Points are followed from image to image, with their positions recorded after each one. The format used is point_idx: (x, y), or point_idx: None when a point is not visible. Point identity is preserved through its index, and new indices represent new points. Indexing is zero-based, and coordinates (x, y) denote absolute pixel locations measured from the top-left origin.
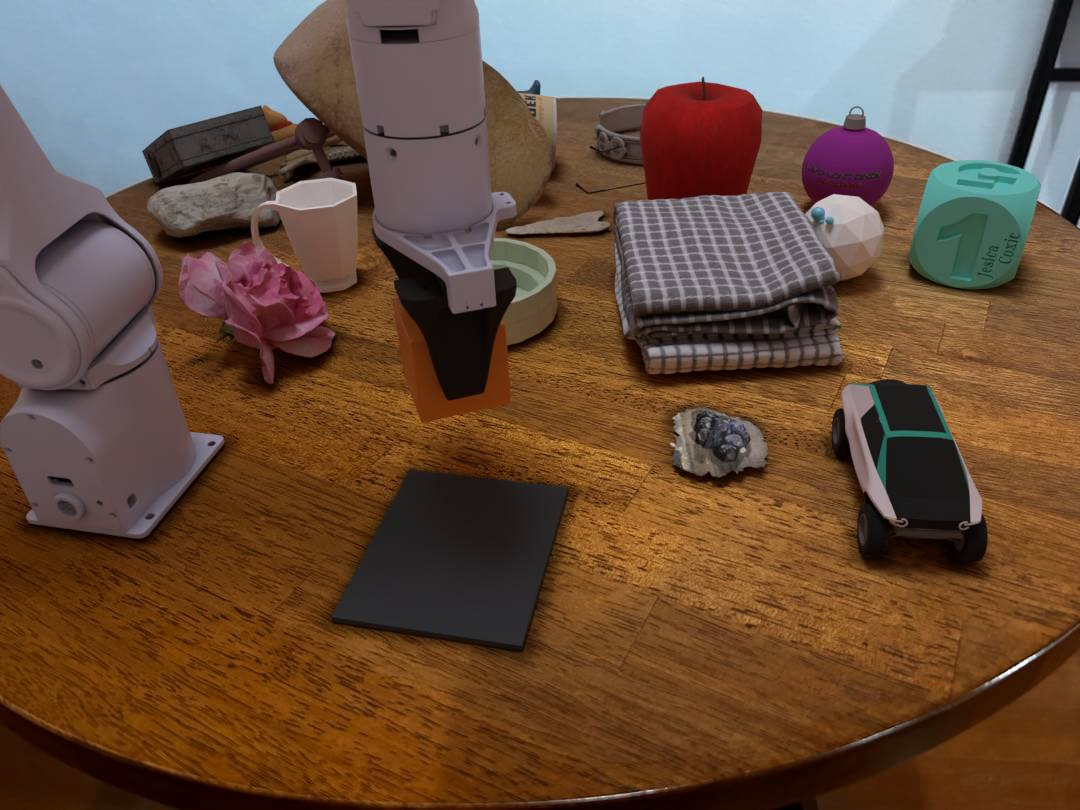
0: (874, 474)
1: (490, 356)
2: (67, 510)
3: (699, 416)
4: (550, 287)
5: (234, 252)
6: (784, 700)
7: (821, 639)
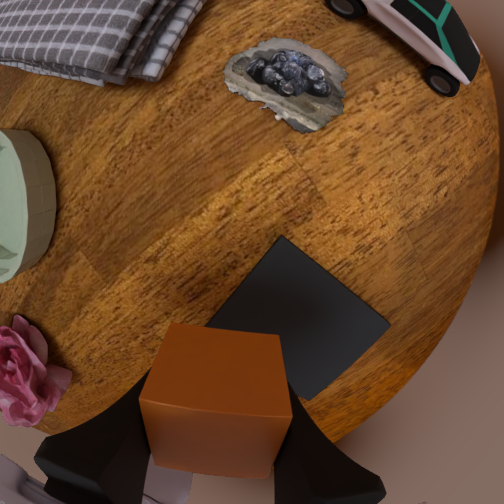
0: (444, 55)
1: (308, 414)
2: None
3: (253, 72)
4: (15, 142)
5: None
6: (476, 213)
7: (465, 167)
